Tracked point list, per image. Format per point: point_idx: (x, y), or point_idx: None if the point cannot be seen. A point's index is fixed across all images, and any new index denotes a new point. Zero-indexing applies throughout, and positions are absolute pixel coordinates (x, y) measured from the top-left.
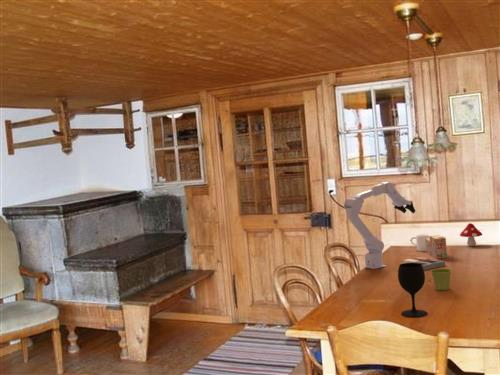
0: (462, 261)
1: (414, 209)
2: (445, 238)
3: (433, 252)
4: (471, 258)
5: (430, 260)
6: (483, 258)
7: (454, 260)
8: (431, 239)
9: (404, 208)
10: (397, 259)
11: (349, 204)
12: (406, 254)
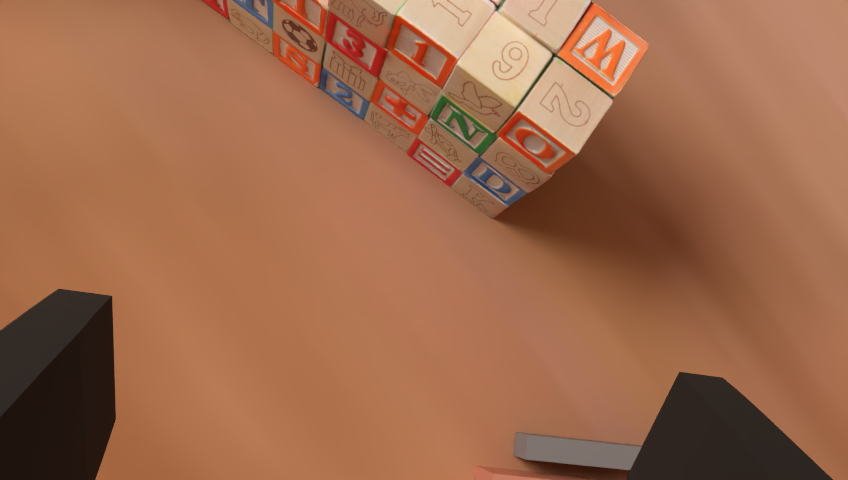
0: (768, 219)
1: (773, 450)
2: (646, 51)
3: (417, 139)
4: (741, 67)
5: (627, 469)
6: (815, 28)
7: (684, 212)
8: (397, 37)
9: (31, 424)
10: (119, 467)
11: None
12: (11, 153)
